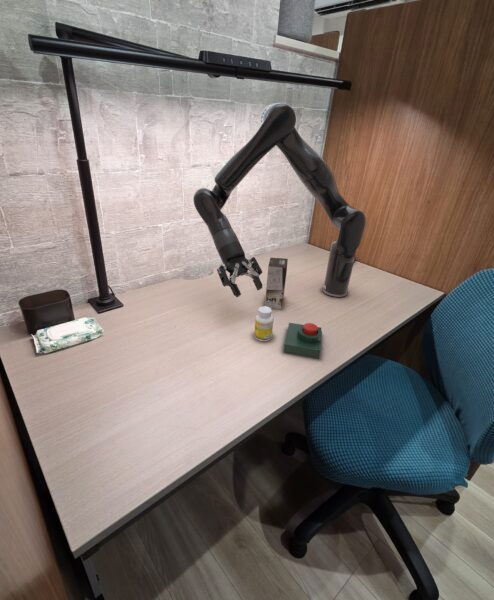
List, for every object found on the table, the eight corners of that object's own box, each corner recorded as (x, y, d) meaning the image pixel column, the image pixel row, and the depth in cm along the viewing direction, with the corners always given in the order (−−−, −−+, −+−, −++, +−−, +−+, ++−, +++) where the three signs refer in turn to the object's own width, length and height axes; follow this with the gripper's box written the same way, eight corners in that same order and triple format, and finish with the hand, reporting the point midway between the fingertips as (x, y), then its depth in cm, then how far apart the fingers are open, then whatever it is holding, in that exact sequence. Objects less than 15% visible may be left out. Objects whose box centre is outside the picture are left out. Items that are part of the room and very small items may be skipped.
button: (303, 327, 95) (304, 322, 94) (316, 329, 94) (317, 324, 93) (302, 334, 91) (303, 329, 90) (316, 336, 90) (317, 331, 90)
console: (288, 330, 101) (289, 317, 99) (319, 335, 99) (322, 322, 97) (283, 352, 91) (285, 338, 89) (318, 359, 89) (321, 344, 87)
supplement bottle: (256, 330, 101) (258, 303, 96) (273, 333, 99) (276, 306, 95) (252, 339, 96) (254, 312, 91) (269, 343, 95) (272, 315, 90)
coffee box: (282, 309, 113) (286, 267, 105) (264, 307, 114) (267, 265, 106) (283, 297, 121) (288, 258, 113) (267, 295, 122) (270, 256, 114)
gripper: (214, 244, 92) (237, 294, 90) (251, 236, 100) (273, 282, 98) (204, 256, 99) (225, 303, 96) (240, 248, 106) (260, 291, 104)
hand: (249, 292), depth 97 cm, fingers open, 8 cm apart
